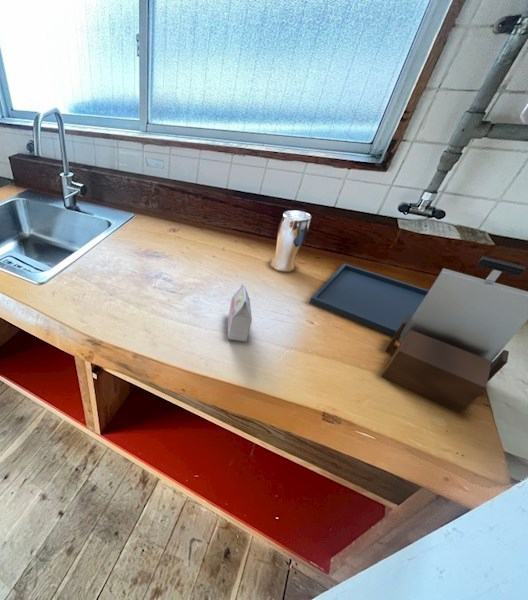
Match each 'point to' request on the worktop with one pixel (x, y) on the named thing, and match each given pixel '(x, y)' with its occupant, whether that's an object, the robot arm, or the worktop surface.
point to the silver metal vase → (290, 239)
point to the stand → (440, 369)
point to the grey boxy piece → (239, 316)
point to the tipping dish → (472, 310)
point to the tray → (369, 298)
